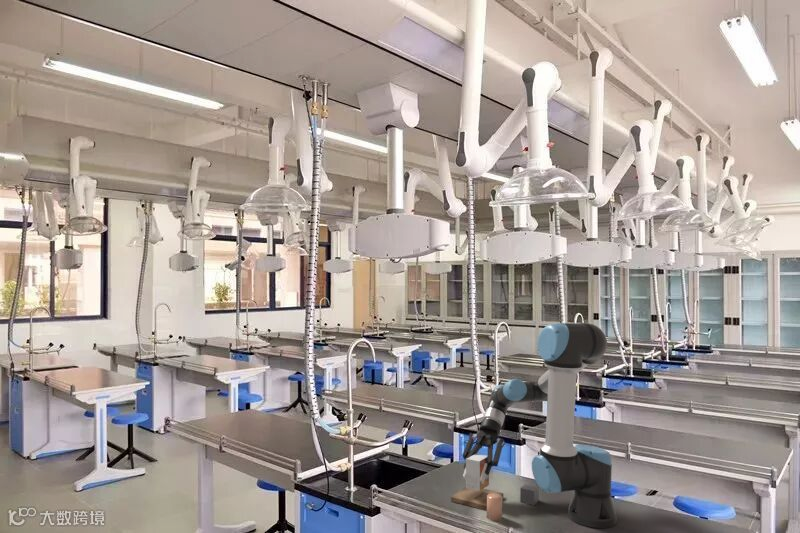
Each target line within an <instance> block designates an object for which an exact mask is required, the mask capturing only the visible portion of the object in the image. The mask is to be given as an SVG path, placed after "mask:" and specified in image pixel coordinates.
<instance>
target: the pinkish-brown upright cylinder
mask: <svg viewBox="0 0 800 533" xmlns="http://www.w3.org/2000/svg"><path fill="white" fill-rule="evenodd" d="M487 518H488V520H489V519H490V520H489V521H491V520H495V521H494V522H498V521H499V520H500V521H502V520H503V498H502V496H501V495H499V494H495V493H492V494H488V495H487V510H486V519H487Z"/></svg>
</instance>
